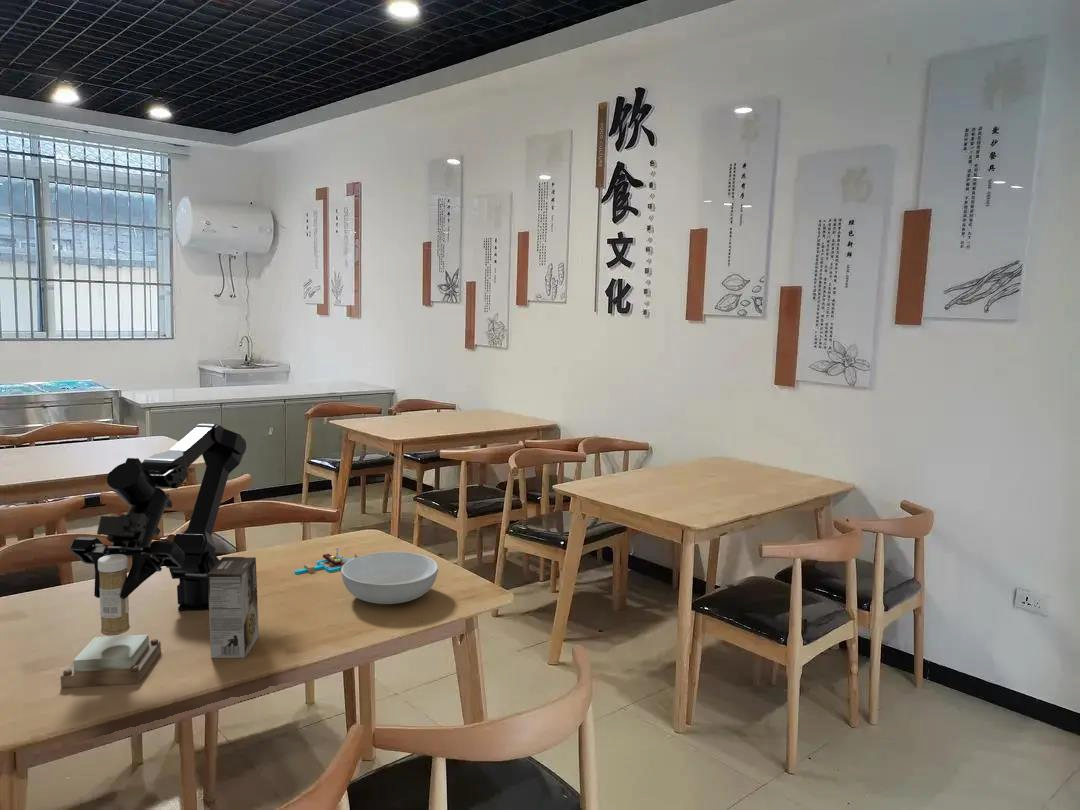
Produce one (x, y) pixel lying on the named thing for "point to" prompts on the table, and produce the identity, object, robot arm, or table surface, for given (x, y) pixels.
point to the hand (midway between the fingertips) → (109, 597)
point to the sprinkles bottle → (113, 594)
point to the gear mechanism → (333, 563)
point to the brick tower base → (113, 674)
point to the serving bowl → (389, 576)
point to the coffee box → (233, 607)
